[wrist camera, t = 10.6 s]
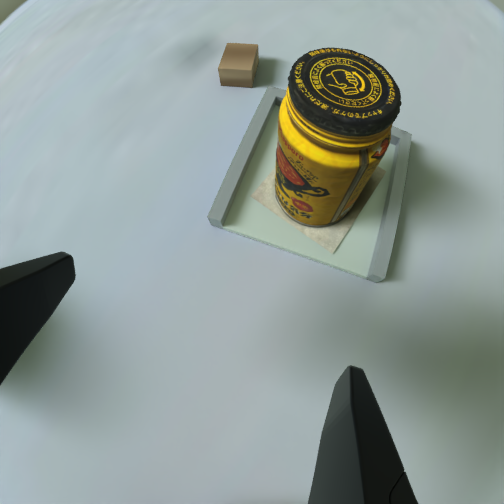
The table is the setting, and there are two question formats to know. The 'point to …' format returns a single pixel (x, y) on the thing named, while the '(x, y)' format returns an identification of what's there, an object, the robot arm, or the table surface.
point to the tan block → (238, 65)
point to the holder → (288, 237)
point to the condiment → (330, 142)
